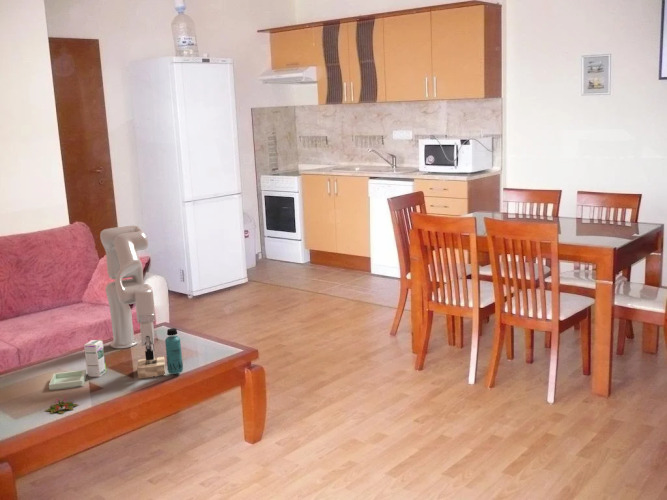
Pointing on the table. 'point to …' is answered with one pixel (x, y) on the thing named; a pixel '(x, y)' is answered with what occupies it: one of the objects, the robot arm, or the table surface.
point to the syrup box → (95, 358)
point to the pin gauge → (151, 360)
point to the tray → (67, 380)
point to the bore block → (151, 368)
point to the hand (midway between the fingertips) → (150, 355)
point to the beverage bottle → (173, 352)
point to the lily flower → (63, 404)
